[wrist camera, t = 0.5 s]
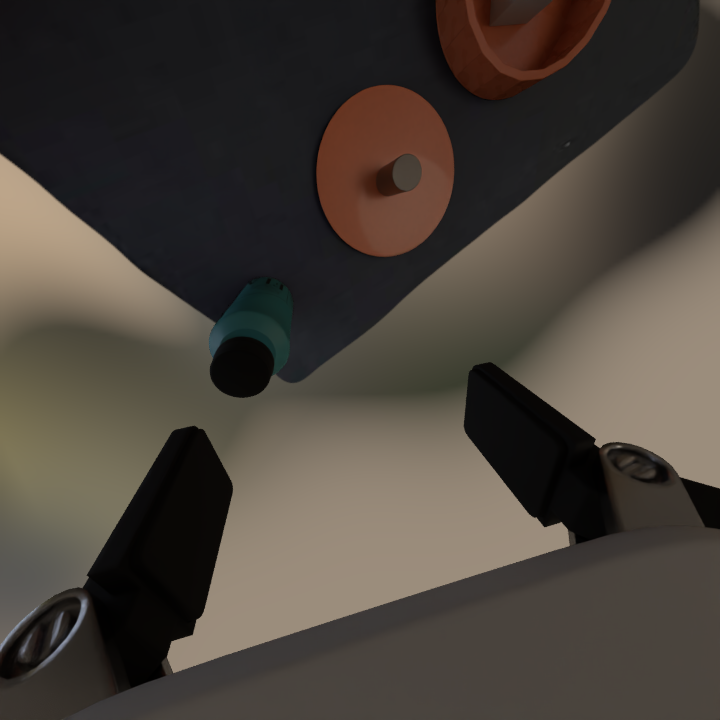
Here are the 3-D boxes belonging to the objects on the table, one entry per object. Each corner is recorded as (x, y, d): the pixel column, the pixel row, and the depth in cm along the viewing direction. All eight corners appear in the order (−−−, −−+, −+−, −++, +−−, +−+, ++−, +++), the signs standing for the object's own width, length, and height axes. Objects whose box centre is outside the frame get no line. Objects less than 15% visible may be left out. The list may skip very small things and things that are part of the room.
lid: (300, 97, 27) (301, 59, 21) (451, 82, 29) (495, 42, 23) (330, 265, 35) (337, 275, 29) (448, 245, 37) (479, 250, 30)
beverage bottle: (293, 274, 34) (288, 328, 17) (295, 323, 37) (291, 412, 20) (239, 271, 33) (173, 328, 16) (245, 323, 36) (195, 418, 19)
